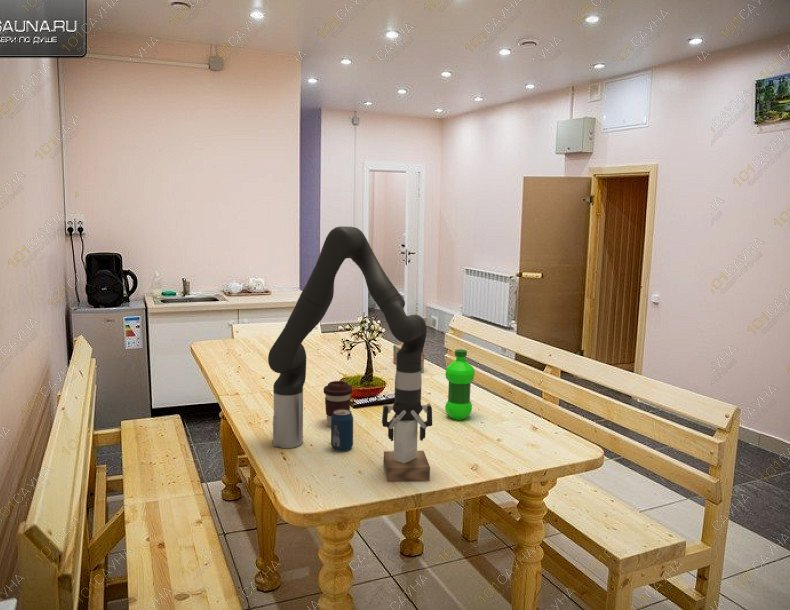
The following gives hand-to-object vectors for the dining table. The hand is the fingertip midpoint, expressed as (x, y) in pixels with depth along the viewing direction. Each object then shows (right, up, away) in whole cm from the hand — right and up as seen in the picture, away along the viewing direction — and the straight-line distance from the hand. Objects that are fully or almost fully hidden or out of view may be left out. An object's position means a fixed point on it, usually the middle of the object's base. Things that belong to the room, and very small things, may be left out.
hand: (406, 439), depth 181 cm
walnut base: (0, -10, +2) cm, 10 cm away
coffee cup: (-23, -3, +39) cm, 45 cm away
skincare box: (0, -6, +1) cm, 6 cm away
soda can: (-20, -7, +18) cm, 28 cm away
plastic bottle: (+20, -3, +49) cm, 53 cm away
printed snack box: (+3, +9, +116) cm, 117 cm away
